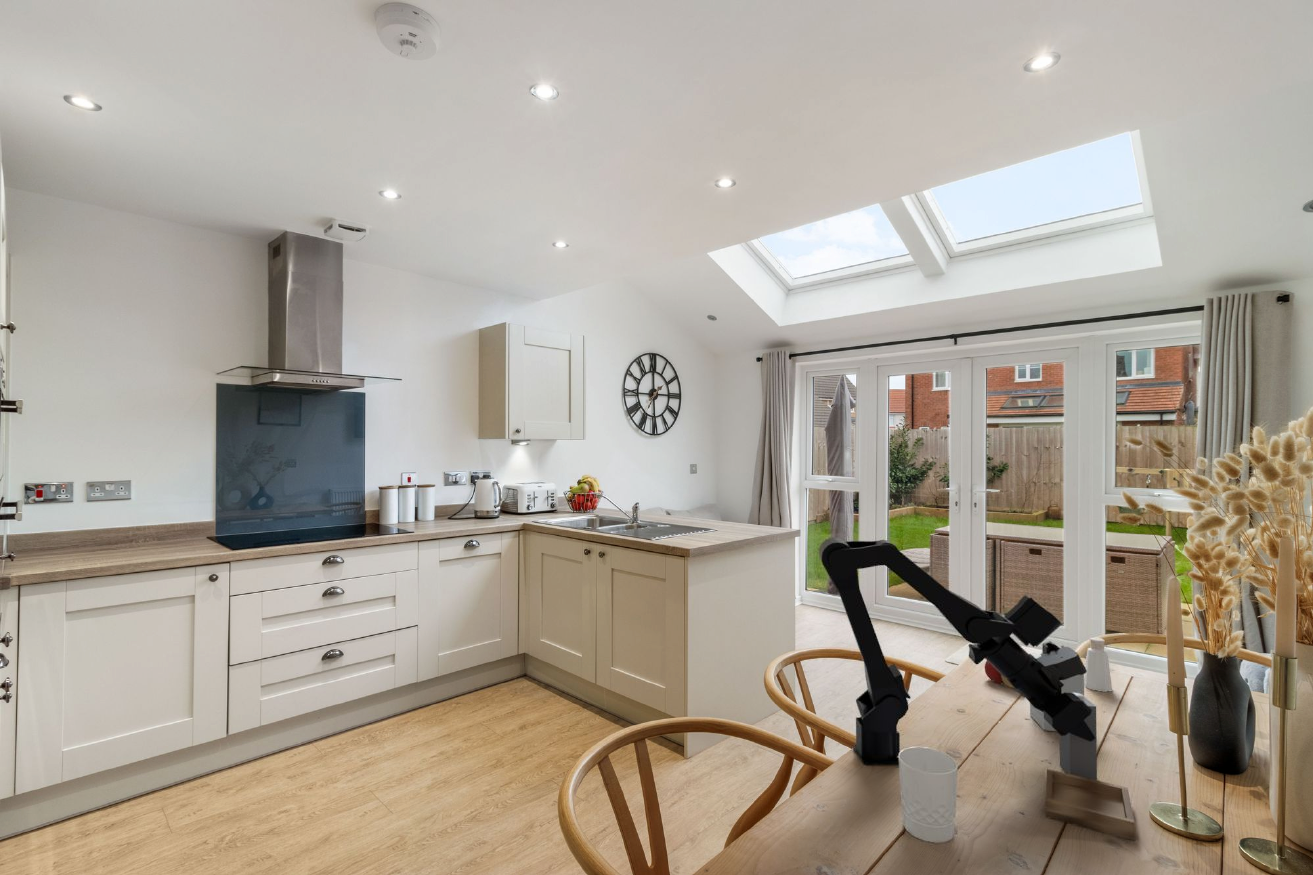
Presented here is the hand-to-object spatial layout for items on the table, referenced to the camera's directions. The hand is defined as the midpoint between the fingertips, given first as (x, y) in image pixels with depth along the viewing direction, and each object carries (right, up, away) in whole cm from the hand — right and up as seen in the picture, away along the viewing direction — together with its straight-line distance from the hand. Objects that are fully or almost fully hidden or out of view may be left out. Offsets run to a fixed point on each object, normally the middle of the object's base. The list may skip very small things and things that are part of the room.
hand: (1086, 733), depth 107 cm
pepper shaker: (+27, -7, +36) cm, 46 cm away
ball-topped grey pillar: (-1, -7, 0) cm, 7 cm away
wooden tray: (-7, -7, -11) cm, 15 cm away
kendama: (+11, -7, +35) cm, 38 cm away
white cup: (-33, -7, -15) cm, 37 cm away
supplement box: (+7, -7, +18) cm, 21 cm away
